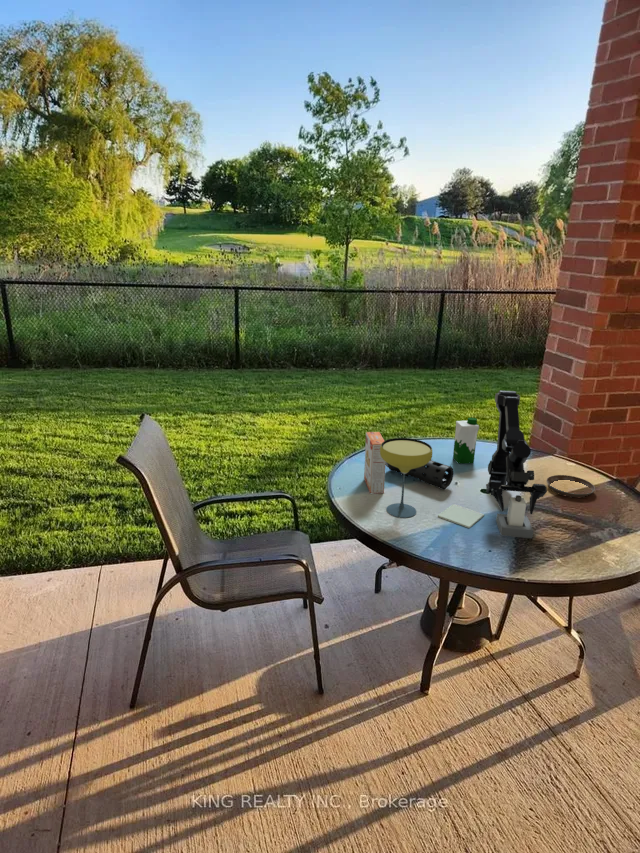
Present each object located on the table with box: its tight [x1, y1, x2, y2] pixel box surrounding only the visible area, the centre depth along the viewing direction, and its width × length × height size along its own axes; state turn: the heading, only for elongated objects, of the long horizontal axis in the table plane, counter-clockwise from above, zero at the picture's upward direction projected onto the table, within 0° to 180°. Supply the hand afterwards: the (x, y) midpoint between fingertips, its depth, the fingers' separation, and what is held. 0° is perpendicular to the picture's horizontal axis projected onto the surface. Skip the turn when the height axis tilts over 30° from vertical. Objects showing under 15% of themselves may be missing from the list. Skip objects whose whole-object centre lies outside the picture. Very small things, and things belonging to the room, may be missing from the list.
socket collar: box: [495, 512, 534, 539], centre depth 177 cm, size 10×10×3 cm
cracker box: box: [363, 431, 386, 494], centre depth 205 cm, size 14×6×21 cm, turn 5°
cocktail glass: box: [380, 437, 433, 519], centre depth 185 cm, size 18×18×25 cm
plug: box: [506, 494, 527, 527], centre depth 176 cm, size 4×4×12 cm
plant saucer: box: [546, 474, 596, 498], centre depth 209 cm, size 18×18×3 cm
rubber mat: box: [437, 503, 485, 529], centre depth 186 cm, size 12×12×1 cm
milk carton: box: [452, 416, 480, 465], centre depth 233 cm, size 9×9×20 cm
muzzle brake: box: [385, 459, 455, 490], centre depth 214 cm, size 10×28×10 cm, turn 46°
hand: (517, 512), depth 175 cm, fingers open, 9 cm apart
